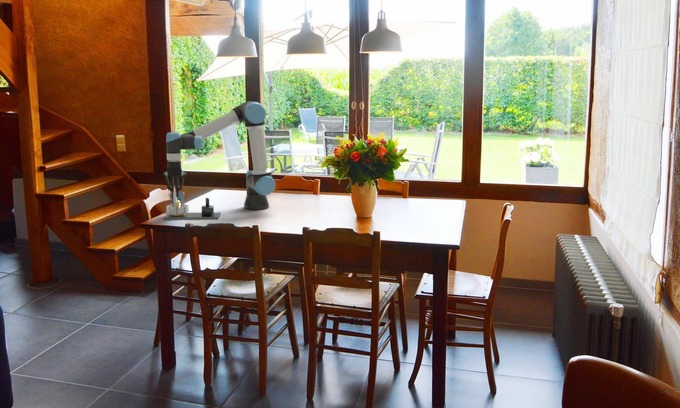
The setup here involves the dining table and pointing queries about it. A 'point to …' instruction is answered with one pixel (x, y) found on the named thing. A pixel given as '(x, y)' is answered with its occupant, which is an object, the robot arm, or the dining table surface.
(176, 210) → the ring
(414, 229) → the dining table surface
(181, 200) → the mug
